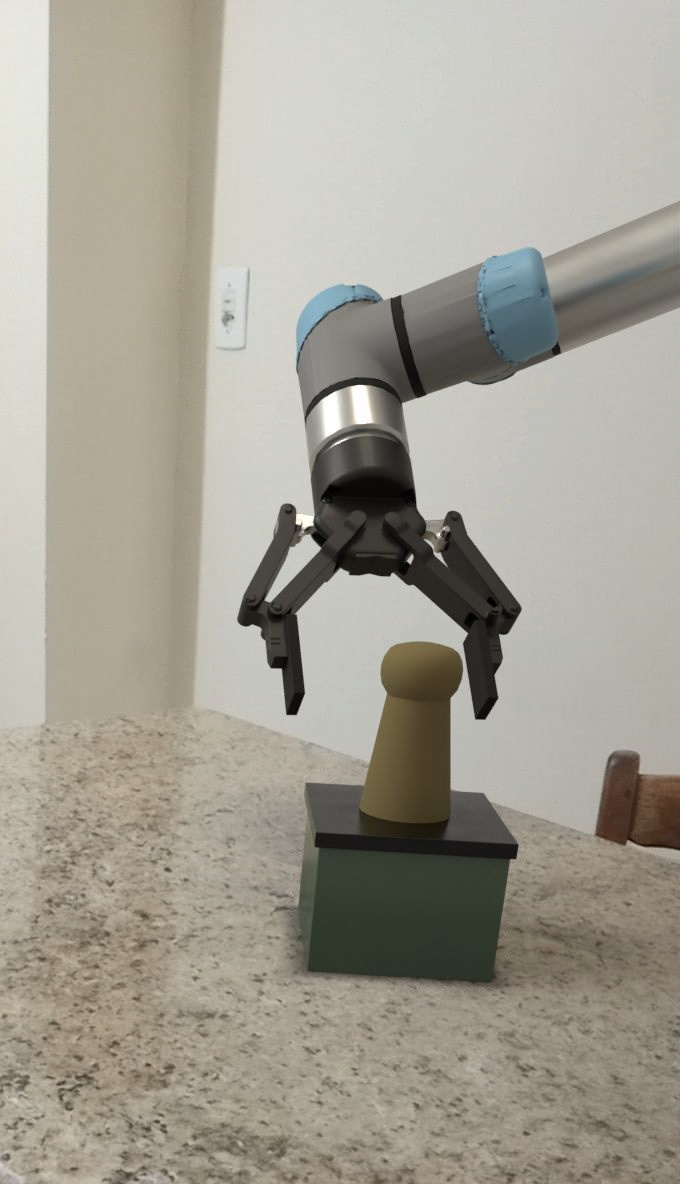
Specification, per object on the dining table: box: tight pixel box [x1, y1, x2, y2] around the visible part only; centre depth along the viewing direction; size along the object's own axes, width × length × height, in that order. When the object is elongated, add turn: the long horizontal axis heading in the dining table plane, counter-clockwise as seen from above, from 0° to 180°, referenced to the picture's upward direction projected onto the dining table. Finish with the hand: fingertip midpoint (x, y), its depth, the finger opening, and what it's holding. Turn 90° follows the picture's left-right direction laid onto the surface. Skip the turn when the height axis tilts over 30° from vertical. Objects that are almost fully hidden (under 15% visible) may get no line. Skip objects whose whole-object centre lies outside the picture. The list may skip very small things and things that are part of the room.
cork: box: [359, 640, 464, 824], centre depth 89 cm, size 6×6×11 cm
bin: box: [297, 782, 520, 983], centre depth 93 cm, size 13×13×10 cm
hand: (391, 707), depth 95 cm, fingers open, 13 cm apart
